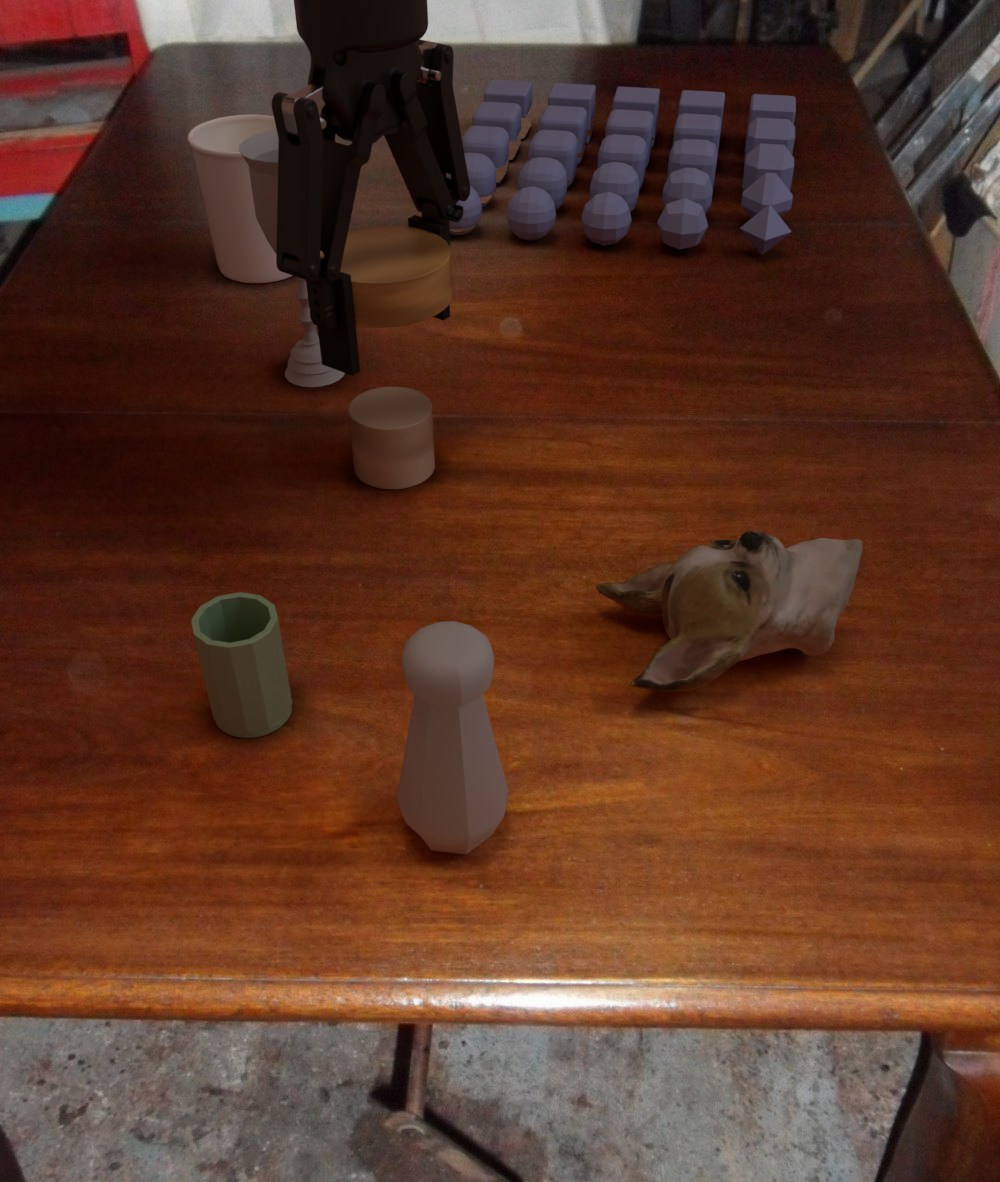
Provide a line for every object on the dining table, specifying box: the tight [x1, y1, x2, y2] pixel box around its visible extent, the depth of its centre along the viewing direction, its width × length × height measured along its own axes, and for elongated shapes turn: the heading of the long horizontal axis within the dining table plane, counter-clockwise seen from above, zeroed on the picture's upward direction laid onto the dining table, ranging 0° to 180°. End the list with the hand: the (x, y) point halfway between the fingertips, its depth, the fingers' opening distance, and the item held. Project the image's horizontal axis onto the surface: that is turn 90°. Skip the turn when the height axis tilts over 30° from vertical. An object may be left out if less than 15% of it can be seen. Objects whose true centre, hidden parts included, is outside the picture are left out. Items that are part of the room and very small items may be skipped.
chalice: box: [239, 129, 346, 388], centre depth 93 cm, size 7×7×18 cm
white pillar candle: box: [348, 386, 436, 490], centre depth 87 cm, size 6×6×5 cm
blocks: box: [446, 79, 797, 256], centre depth 126 cm, size 35×34×5 cm
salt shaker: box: [395, 620, 510, 855], centre depth 59 cm, size 6×6×13 cm
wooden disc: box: [320, 224, 453, 329], centre depth 78 cm, size 9×9×3 cm
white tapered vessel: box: [187, 114, 294, 284], centre depth 109 cm, size 10×10×12 cm
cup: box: [190, 591, 293, 739], centre depth 67 cm, size 5×5×7 cm
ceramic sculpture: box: [595, 530, 864, 692], centre depth 71 cm, size 11×9×15 cm
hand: (388, 339), depth 81 cm, fingers closed on wooden disc, 9 cm apart
